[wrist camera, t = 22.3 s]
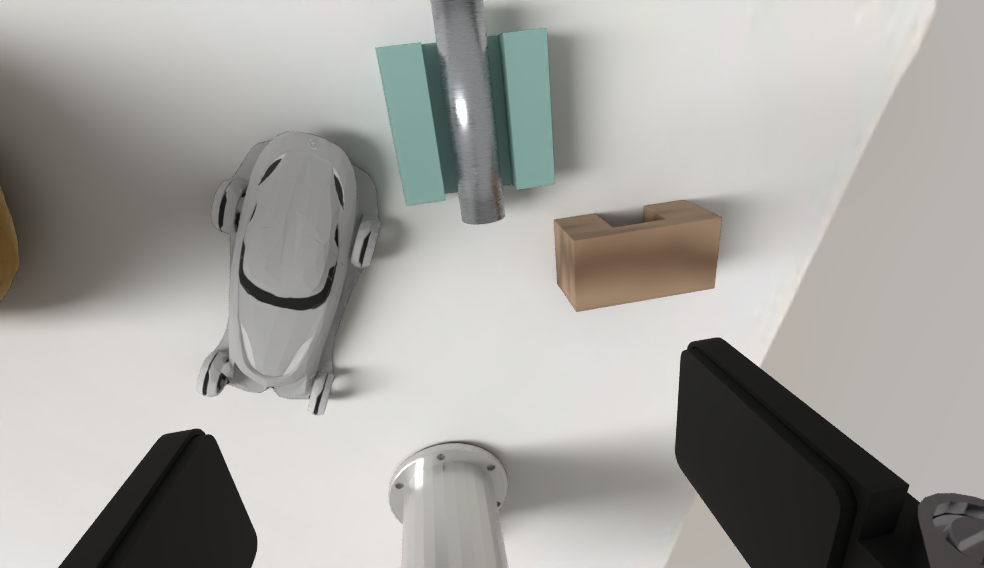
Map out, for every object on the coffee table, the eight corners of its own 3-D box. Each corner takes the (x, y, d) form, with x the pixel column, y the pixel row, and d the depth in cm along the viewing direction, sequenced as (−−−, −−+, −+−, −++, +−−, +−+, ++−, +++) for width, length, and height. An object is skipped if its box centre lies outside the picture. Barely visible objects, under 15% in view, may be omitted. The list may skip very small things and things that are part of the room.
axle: (504, 208, 35) (505, 221, 32) (463, 213, 35) (461, 226, 32) (482, -3, 29) (481, -11, 26) (433, 3, 29) (427, -4, 26)
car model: (204, 382, 40) (177, 420, 36) (243, 104, 32) (214, 108, 28) (332, 404, 43) (322, 442, 39) (399, 155, 35) (396, 167, 30)
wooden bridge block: (679, 263, 42) (714, 288, 37) (557, 283, 41) (576, 312, 36) (683, 199, 39) (721, 217, 35) (553, 219, 38) (573, 240, 34)
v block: (541, 173, 37) (554, 184, 33) (407, 193, 36) (406, 205, 32) (532, 33, 32) (546, 27, 29) (380, 51, 32) (375, 47, 28)
